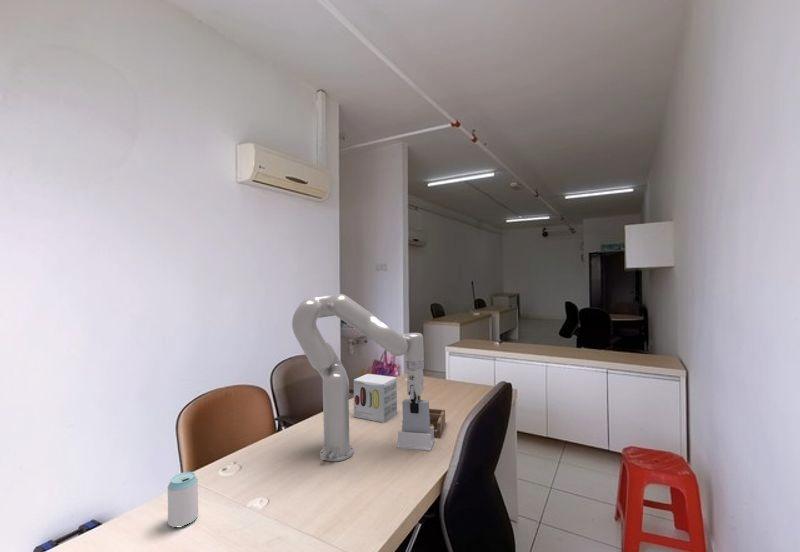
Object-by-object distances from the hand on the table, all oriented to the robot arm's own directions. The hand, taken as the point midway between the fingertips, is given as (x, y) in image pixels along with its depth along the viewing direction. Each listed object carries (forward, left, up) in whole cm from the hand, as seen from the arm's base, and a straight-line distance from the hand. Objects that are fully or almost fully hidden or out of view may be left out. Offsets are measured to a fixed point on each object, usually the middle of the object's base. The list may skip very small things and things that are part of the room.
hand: (415, 410), depth 143 cm
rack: (+15, 0, -13) cm, 20 cm away
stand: (0, 0, -13) cm, 13 cm away
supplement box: (+26, +26, -14) cm, 39 cm away
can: (-59, +53, -13) cm, 80 cm away
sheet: (0, 0, -9) cm, 9 cm away
